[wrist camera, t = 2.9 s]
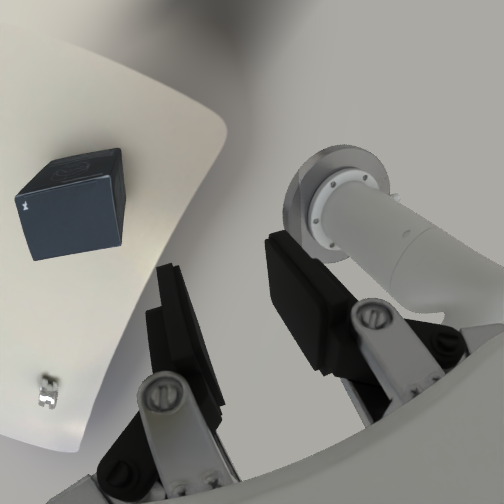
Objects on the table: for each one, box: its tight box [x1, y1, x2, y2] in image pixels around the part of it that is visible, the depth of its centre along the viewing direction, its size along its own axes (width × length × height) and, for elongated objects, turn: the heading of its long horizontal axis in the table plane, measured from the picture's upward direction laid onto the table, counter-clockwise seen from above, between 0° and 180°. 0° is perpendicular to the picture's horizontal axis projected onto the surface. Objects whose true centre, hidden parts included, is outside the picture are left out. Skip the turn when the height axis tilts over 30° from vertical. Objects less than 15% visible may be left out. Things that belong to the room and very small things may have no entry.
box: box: [15, 148, 126, 261], centre depth 22 cm, size 8×6×11 cm
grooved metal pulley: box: [38, 377, 58, 409], centre depth 35 cm, size 5×3×5 cm, turn 141°
